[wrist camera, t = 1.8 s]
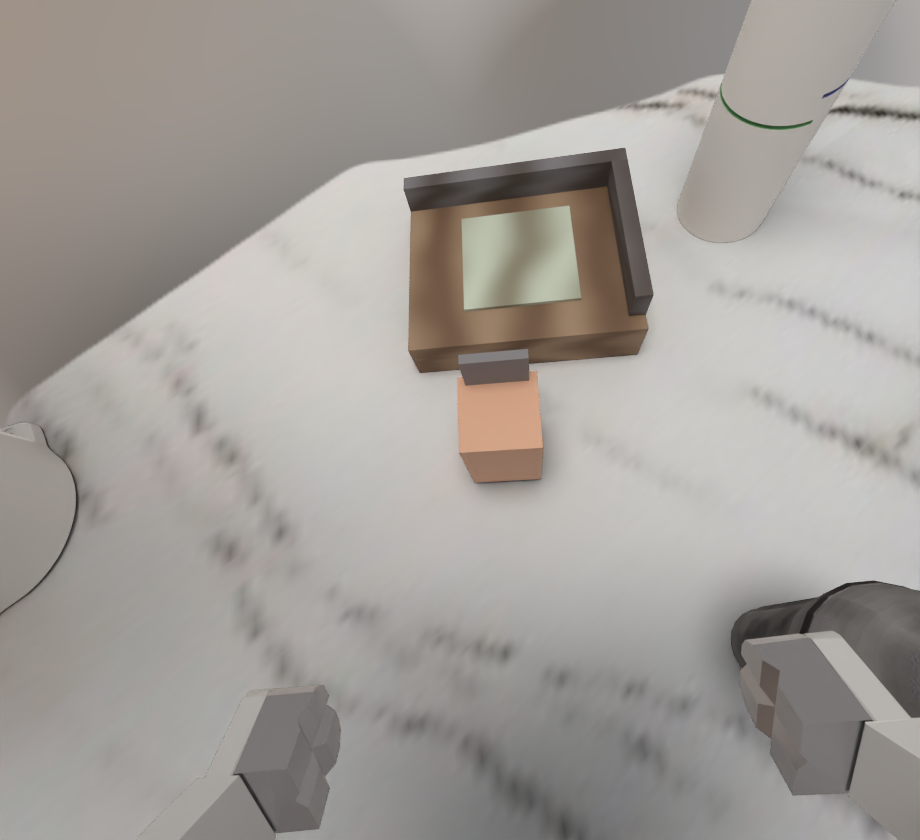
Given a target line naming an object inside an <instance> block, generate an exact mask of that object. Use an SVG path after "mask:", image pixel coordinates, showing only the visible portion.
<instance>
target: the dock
mask: <svg viewBox="0 0 920 840" xmlns="http://www.w3.org/2000/svg"><path fill="white" fill-rule="evenodd" d="M404 192H405V195H406V198H407V201H408V204H409V207H410V210H411V233H410V287H409V342H408V351H409V353H410V355H411V357H412V359H413V361H414V363H415V365H416V367H417V368H418V370H419V372H420V373H424V372H435V371H447V370H459V369H460V367H459V363H458V355H463V354H475V353H486V352H497V351H508V350H520V349H528V356H529V364H530V363H542V362H553V361H565V360H577V359H589V358H601V357H613V356H624V355H636V354H638V352H639V349H640V347H641V345H642V342H643V340H644V338H645V335H646V333H647V331H648V324H647V319H646V313H647V310H648V307H649V305H650V302H651V300H652V297H653V290H652V285H651V279H650V274H649V269H648V264H647V259H646V253H645V248H644V243H643V238H642V233H641V227H640V222H639V217H638V212H637V207H636V201H635V196H634V191H633V186H632V181H631V175H630V170H629V165H628V160H627V155H626V149H625V148H620V149H612V150H605V151H598V152H591V153H584V154H576V155H569V156H562V157H555V158H547V159H540V160H533V161H526V162H518V163H511V164H504V165H497V166H489V167H482V168H475V169H468V170H460V171H453V172H446V173H439V174H431V175H424V176H417V177H410V178H404Z"/></svg>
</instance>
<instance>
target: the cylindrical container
mask: <svg viewBox="0 0 920 840" xmlns="http://www.w3.org/2000/svg"><path fill="white" fill-rule="evenodd" d="M895 2H896V0H752V1H751V3H750V6H749V9H748V12H747V14H746V17H745V20H744V23H743V25H742V28H741V31H740V34H739V36H738V39H737V42H736V45H735V47H734V50H733V53H732V56H731V58H730V61H729V64H728V67H727V70H726V72H725V75H724V78H723V80H722V83H721V86H720V89H719V91H718V94H717V97H716V100H715V102H714V105H713V108H712V111H711V113H710V116H709V119H708V122H707V124H706V127H705V130H704V132H703V135H702V138H701V141H700V143H699V146H698V149H697V152H696V154H695V157H694V160H693V163H692V165H691V168H690V171H689V174H688V176H687V179H686V182H685V185H684V187H683V190H682V193H681V196H680V198H679V201H678V205H677V214H678V218H679V220H680V222H681V224H682V225H683V226H684V228H685V229H686V230H687V231H689V232H690V233H691V234H693V235H694V236H696V237H698V238H700V239H703V240H706V241H711V242H717V243H727V242H734V241H738V240H741V239H744V238H746V237H747V236H749V235H751V234H752V233H753V232H755V231H756V230H757V228H758V227H759V226H760V225H761V223H762V221H763V220H764V218H765V216H766V215H767V213H768V211H769V210H770V208H771V206H772V205H773V203H774V201H775V200H776V198H777V197H778V195H779V193H780V192H781V190H782V188H783V187H784V185H785V183H786V182H787V180H788V178H789V177H790V175H791V173H792V172H793V170H794V168H795V167H796V165H797V163H798V162H799V160H800V158H801V157H802V155H803V154H804V152H805V150H806V149H807V147H808V145H809V144H810V142H811V140H812V139H813V137H814V135H815V134H816V132H817V131H818V129H819V127H820V126H821V124H822V122H823V121H824V119H825V117H826V116H827V114H828V112H829V111H830V109H831V108H832V106H833V104H834V103H835V101H836V99H837V98H838V96H839V94H840V93H841V91H842V89H843V88H844V86H845V85H846V83H847V81H848V79H849V77H850V76H851V75H852V73H853V71H854V70H855V68H856V66H857V65H858V63H859V61H860V60H861V58H862V56H863V55H864V53H865V51H866V50H867V48H868V47H869V45H870V43H871V42H872V40H873V38H874V37H875V35H876V33H877V32H878V30H879V28H880V27H881V25H882V23H883V22H884V20H885V18H886V17H887V15H888V13H889V12H890V10H891V8H892V7H893V5H894V3H895Z"/></svg>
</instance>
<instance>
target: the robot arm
mask: <svg viewBox="0 0 920 840" xmlns="http://www.w3.org/2000/svg"><path fill="white" fill-rule="evenodd" d="M75 506H76V492H75V485H74V481H73V477H72V475H71V472H70V471H69V469H68V467H67V466H66V464H65V463H64V462H63V460H62V459H61V458H59V457H58V456H57V455H56V454H55V453H53V452H52V451H51V450H50V449H49V448H48V446H47V444H46V440H45V437H44V434H43V432H42V430H41V428H40V427H39V426H38V425H36V424H31V423H27V422H21V423H17V424H13V425H10V426H6V427H2V428H0V613H1V612H2V611H3V610H5V609H6V608H7V607H9V606H10V605H12V604H13V603H15V602H16V601H17V600H19V599H20V598H22V597H23V596H24V595H26V594H27V593H28V592H29V591H30V590H31V589H32V588H34V587H35V586H36V585H37V584H38V583H39V582H40V580H41V579H42V578H43V577H44V576H45V575H46V574H47V572H48V571H49V570H50V568H51V567H52V566H53V564H54V563H55V561H56V560H57V558H58V556H59V555H60V553H61V551H62V549H63V547H64V545H65V543H66V541H67V538H68V536H69V533H70V530H71V527H72V523H73V519H74V514H75ZM741 655H742V657H743V658H744V660H745V662H746V665H745V666H744V667H743V668H742V669H741V670H740V688H741V692H742V696H743V700H744V703H745V705H746V708H747V710H748V713H749V715H750V717H751V719H752V720H753V722H754V724H755V726H756V728H758V729H759V730H760V731H762V732H763V733H764V734H766V735H767V736H768V737H770V738H771V748H770V754H771V756H772V758H773V760H774V762H775V764H776V765H777V767H778V769H779V771H780V773H781V775H782V777H783V778H784V780H785V782H786V784H787V786H788V788H789V789H790V791H791V793H792V795H815V794H839V793H849V794H848V797H849V798H851V799H852V800H853V801H854V802H855V803H856V804H858V805H859V806H860V807H861V808H862V809H863V810H864V811H866V812H867V813H868V814H869V815H870V816H871V817H873V818H874V819H875V820H876V821H877V822H878V823H880V824H881V825H882V826H883V827H884V828H885V829H886V830H888V831H889V832H890V833H891V834H892V835H893V836H895V837H896V838H897V839H898V840H920V718H911V717H910V716H909V715H908V713H907V712H906V711H905V710H904V709H903V708H902V706H901V705H900V704H899V703H898V702H897V701H896V699H895V698H894V697H893V696H892V695H891V694H890V692H889V691H888V690H887V689H886V688H885V687H884V685H883V684H882V683H881V682H880V681H879V680H878V678H877V677H876V676H875V675H874V674H873V673H872V671H871V670H870V669H869V668H868V667H867V666H866V664H865V663H864V662H863V661H862V660H861V659H860V657H859V656H858V655H857V654H856V653H855V652H854V650H853V649H852V648H851V647H850V646H849V645H848V643H847V642H846V641H845V640H844V639H843V638H842V636H841V635H839V634H838V633H836V632H834V631H824V632H815V633H806V634H791V635H782V636H774V637H765V638H757V639H749V640H745V641H744V642H743V644H742V649H741ZM328 697H329V695H328V693H327V691H326V689H325V687H324V685H315V686H302V687H288V688H274V689H264V690H253V691H249V692H248V693H247V694H246V696H245V697H244V698H243V699H242V701H241V703H240V705H239V707H238V709H237V711H236V713H235V715H234V718H233V720H232V722H231V724H230V726H229V728H228V730H227V732H226V734H225V736H224V738H223V740H222V743H221V745H220V747H219V749H218V751H217V753H216V755H215V757H214V759H213V761H212V763H211V766H210V768H209V770H208V772H207V774H206V776H205V778H197V779H196V780H195V781H194V782H193V783H192V784H191V785H190V786H189V787H188V788H187V789H186V790H185V791H184V792H183V793H182V794H181V795H180V796H179V797H178V798H177V799H176V800H175V801H174V802H173V803H172V804H171V805H170V806H169V807H168V808H167V809H166V810H165V811H164V812H163V813H162V814H161V815H160V816H159V817H158V818H157V819H156V820H155V821H154V822H153V823H152V824H151V825H150V826H149V827H148V828H147V829H146V830H145V831H144V832H142V833H141V834H140V835H139V836H138V837H137V838H136V839H135V840H274V839H275V838H276V834H275V833H283V832H293V831H302V830H312V829H319V828H320V824H321V820H322V816H323V812H324V809H325V805H326V801H327V797H328V793H329V789H330V788H329V785H328V783H327V780H326V777H325V776H326V775H327V774H328V772H329V771H330V770H331V769H332V767H333V766H334V765H335V764H336V761H337V757H338V753H339V748H340V734H341V729H340V723H339V718H338V715H337V713H336V711H335V710H334V709H332V708H331V707H329V706H328V705H326V704H327V701H328Z"/></svg>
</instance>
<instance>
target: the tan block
mask: <svg viewBox="0 0 920 840" xmlns="http://www.w3.org/2000/svg"><path fill="white" fill-rule="evenodd" d="M458 363H459V367H460V370H461V373H462V376H463V377H460V378H458V424H459V454H460V456H461V457H462V459H463V461H464V463H465V465H466V467H467V469H468V471H469V473H470V475H471V477H472V479H473V481H474V482H493V481H512V480H530V479H541V476H542V459H543V440H542V429H541V417H540V405H539V394H538V382H537V371H533V372H529V356H528V349H520V350H508V351H497V352H486V353H475V354H463V355H458Z"/></svg>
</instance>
